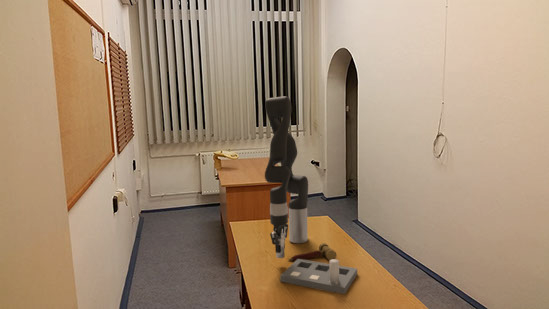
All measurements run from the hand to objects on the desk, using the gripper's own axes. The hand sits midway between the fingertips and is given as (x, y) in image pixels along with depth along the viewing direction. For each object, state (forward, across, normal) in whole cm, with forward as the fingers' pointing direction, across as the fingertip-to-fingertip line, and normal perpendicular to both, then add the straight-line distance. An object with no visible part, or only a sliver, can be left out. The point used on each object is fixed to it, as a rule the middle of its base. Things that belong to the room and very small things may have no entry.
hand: (280, 250), depth 175 cm
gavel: (+7, -12, +9) cm, 17 cm away
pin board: (+6, +6, +20) cm, 21 cm away
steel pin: (+3, 0, 0) cm, 3 cm away
